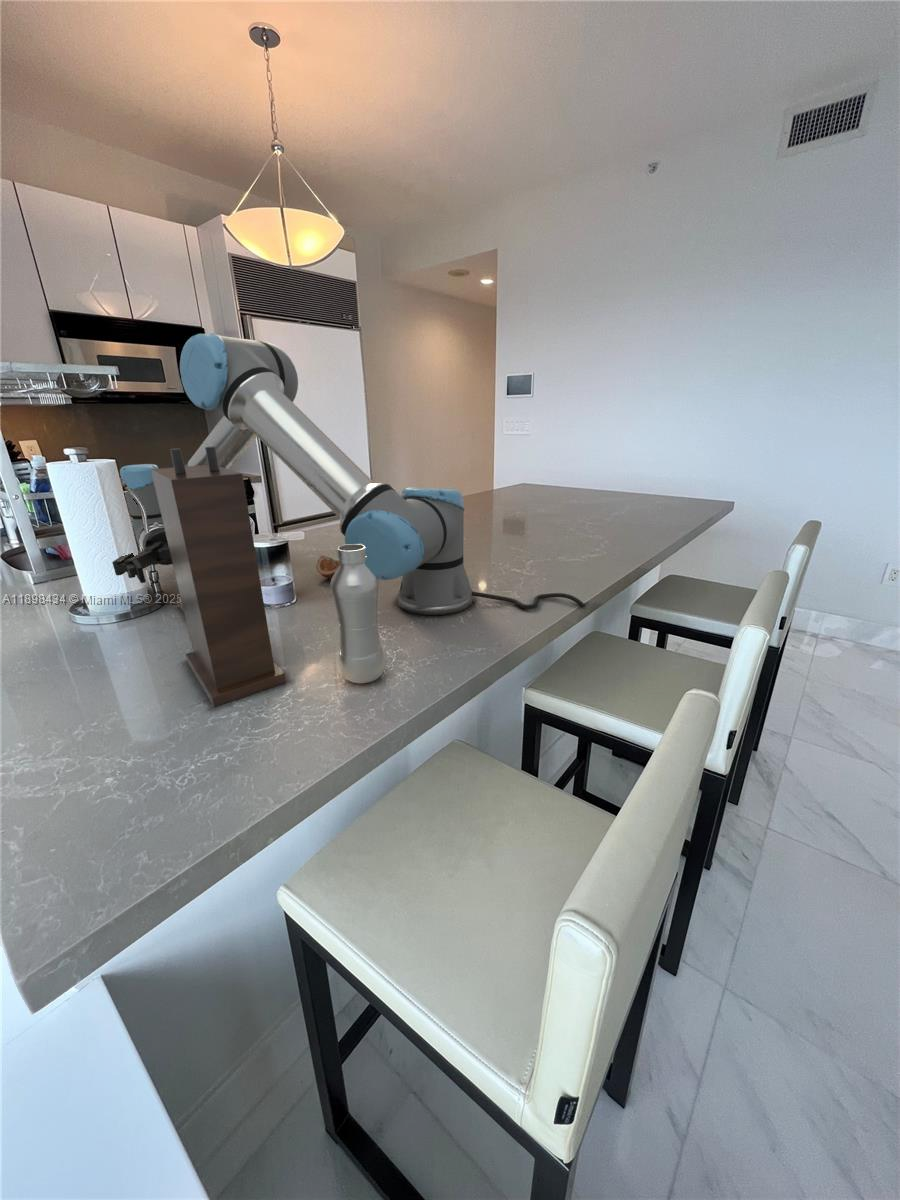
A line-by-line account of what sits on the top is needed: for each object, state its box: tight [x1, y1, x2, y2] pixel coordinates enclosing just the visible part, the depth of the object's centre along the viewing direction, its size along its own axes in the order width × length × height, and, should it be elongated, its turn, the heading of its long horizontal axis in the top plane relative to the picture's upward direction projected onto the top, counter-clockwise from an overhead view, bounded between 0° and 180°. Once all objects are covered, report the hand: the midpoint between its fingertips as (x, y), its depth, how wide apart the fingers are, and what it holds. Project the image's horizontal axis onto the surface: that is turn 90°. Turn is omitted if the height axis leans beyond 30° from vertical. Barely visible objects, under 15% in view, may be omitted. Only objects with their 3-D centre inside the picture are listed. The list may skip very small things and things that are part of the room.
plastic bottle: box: [329, 544, 386, 684], centre depth 69 cm, size 6×7×20 cm
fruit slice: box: [315, 555, 340, 580], centre depth 114 cm, size 8×7×5 cm
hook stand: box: [151, 447, 287, 708], centre depth 69 cm, size 16×10×33 cm, turn 38°
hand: (184, 567), depth 89 cm, fingers open, 13 cm apart
